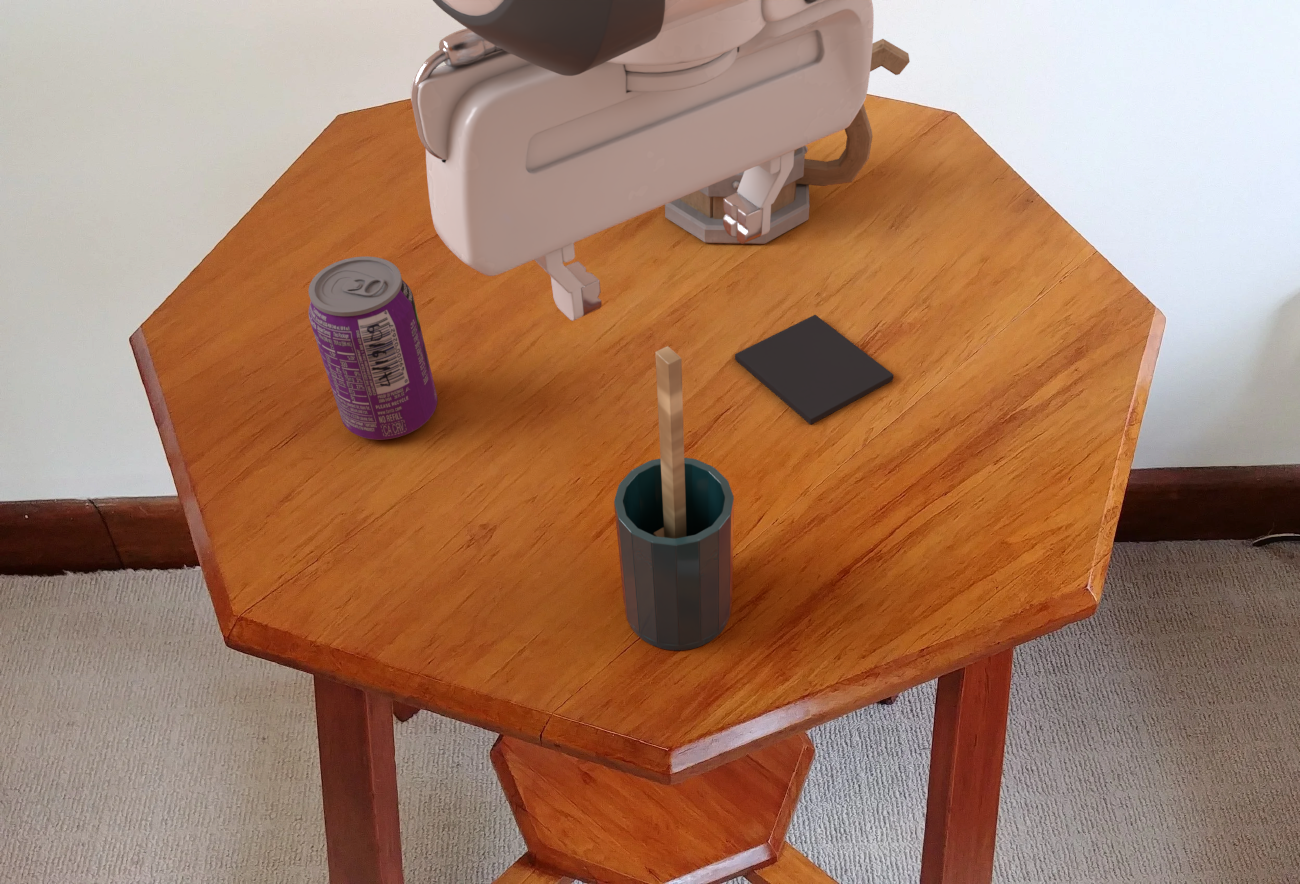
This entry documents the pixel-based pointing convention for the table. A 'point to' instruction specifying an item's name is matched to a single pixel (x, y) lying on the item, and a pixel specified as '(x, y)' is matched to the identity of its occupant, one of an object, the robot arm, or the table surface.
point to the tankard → (792, 203)
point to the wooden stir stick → (671, 442)
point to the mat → (813, 368)
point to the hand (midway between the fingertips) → (665, 269)
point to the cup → (676, 557)
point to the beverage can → (372, 347)
